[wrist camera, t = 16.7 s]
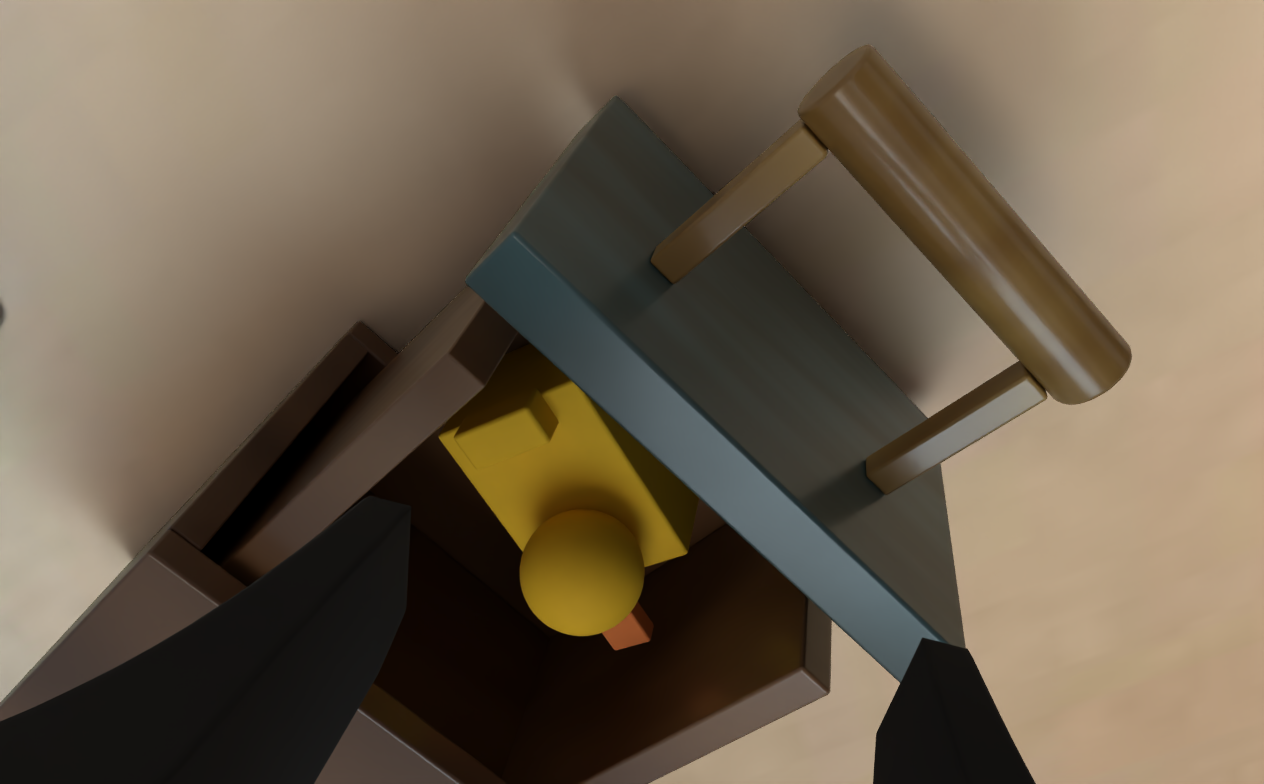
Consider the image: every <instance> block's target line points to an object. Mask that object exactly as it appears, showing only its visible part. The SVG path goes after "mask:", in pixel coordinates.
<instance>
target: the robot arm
mask: <svg viewBox="0 0 1264 784" xmlns="http://www.w3.org/2000/svg"><path fill="white" fill-rule="evenodd" d="M410 524H411V506H409V505H405V504H401V503H397V502H393V501H389V500H385V499H381V498H378V497H374V496H368V497H367V498H365V499H363V500H361V501H360V502H359V503H358V504H356V505H355V506H354V507H353V508H351V509H350V510H349V511H348V512H346V513H345V514H344V515H343V516H341V517H340V518H339V519H337V520H336V521H335V522H334V523H332V524H331V525H330V526H329V527H327V528H326V529H325V530H324V531H322V532H321V533H320V534H318V535H317V536H316V537H315V538H313V539H312V540H311V541H309V542H308V543H307V544H305V545H304V546H303V547H301V548H300V549H299V550H297V551H296V552H295V553H294V554H292V555H291V556H289V557H288V558H287V559H285V560H284V561H283V562H281V563H280V564H278V565H277V566H276V567H274V568H273V569H271V570H270V571H269V572H267V573H266V574H265V575H263V576H262V577H260V578H259V579H258V580H256V581H255V582H253V583H252V584H251V585H249V586H248V587H246V588H245V589H243V590H242V591H240V592H239V593H238V594H236V595H234V596H233V597H231V598H230V599H228V600H227V601H225V602H224V603H222V604H221V605H219V606H218V607H216V608H215V609H213V610H211V611H210V612H208V613H207V614H205V615H204V616H202V617H201V618H199V619H198V620H196V621H195V622H193V623H192V624H190V625H188V626H187V627H185V628H183V629H182V630H180V631H178V632H177V633H175V634H173V635H172V636H170V637H168V638H167V639H165V640H163V641H162V642H160V643H158V644H156V645H155V646H153V647H151V648H150V649H148V650H146V651H144V652H142V653H140V654H139V655H137V656H135V657H133V658H131V659H130V660H128V661H126V662H124V663H122V664H121V665H119V666H117V667H115V668H113V669H111V670H109V671H107V672H105V673H103V674H101V675H99V676H97V677H95V678H93V679H91V680H89V681H87V682H85V683H83V684H81V685H79V686H77V687H75V688H73V689H71V690H69V691H67V692H65V693H63V694H61V695H59V696H56V697H54V698H52V699H50V700H48V701H46V702H44V703H42V704H39V705H37V706H35V707H33V708H31V709H28V710H26V711H24V712H21V713H19V714H16V715H14V716H12V717H9V718H7V719H4V720H2V721H0V784H314V783H315V781H316V780H317V778H318V776H319V775H320V773H321V771H322V769H323V768H324V766H325V764H326V763H327V761H328V759H329V758H330V756H331V754H332V752H333V751H334V749H335V747H336V746H337V744H338V742H339V741H340V739H341V737H342V735H343V734H344V732H345V730H346V729H347V727H348V725H349V724H350V722H351V720H352V718H353V717H354V715H355V713H356V711H357V710H358V708H359V706H360V705H361V703H362V701H363V699H364V698H365V696H366V694H367V693H368V691H369V689H370V687H371V686H372V684H373V682H374V680H375V679H376V677H377V675H378V673H379V671H380V669H381V667H382V664H383V662H384V660H385V658H386V655H387V653H388V651H389V649H390V646H391V644H392V642H393V639H394V637H395V635H396V632H397V630H398V628H399V625H400V623H401V620H402V618H403V616H404V613H405V611H406V606H407V585H408V565H409V544H410ZM873 784H1036V783H1035V782H1034V780H1033V778H1032V776H1031V774H1030V772H1029V770H1028V769H1027V767H1026V765H1025V763H1024V761H1023V759H1022V757H1021V755H1020V753H1019V751H1018V750H1017V748H1016V746H1015V744H1014V742H1013V740H1012V738H1011V736H1010V734H1009V732H1008V730H1007V728H1006V726H1005V724H1004V722H1003V720H1002V718H1001V716H1000V714H999V712H998V709H997V707H996V705H995V703H994V701H993V699H992V697H991V695H990V693H989V691H988V689H987V687H986V685H985V682H984V680H983V678H982V676H981V674H980V672H979V670H978V668H977V666H976V664H975V662H974V659H973V657H972V656H971V654H970V652H969V651H968V649H966V648H962V647H958V646H954V645H950V644H946V643H942V642H939V641H935V640H931V639H927V638H923V637H922V639H921V641H920V643H919V645H918V648H917V650H916V652H915V654H914V656H913V658H912V660H911V662H910V664H909V666H908V668H907V671H906V673H905V675H904V677H903V679H902V681H901V683H900V685H899V687H898V689H897V691H896V694H895V696H894V698H893V700H892V702H891V704H890V706H889V708H888V710H887V712H886V714H885V716H884V719H883V721H882V723H881V725H880V727H879V729H878V731H877V733H876V747H875V762H874V779H873Z"/></svg>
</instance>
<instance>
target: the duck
mask: <svg viewBox="0 0 1264 784" xmlns="http://www.w3.org/2000/svg"><path fill="white" fill-rule="evenodd" d="M439 439H440V441H441V442H442V443H443V445H444V446H445V447H446V449H447V450H448V451H449V453H450V454H451V455H452V457H453V458H454V459H455V461H456V462H457V464H458V465H459V466H460V468H461V469H462V470H463V472H464V473H465V474H466V476H467V477H468V478H469V480H470V481H471V483H472V484H473V485H474V487H475V488H476V489H477V491H478V492H479V493H480V495H481V496H482V497H483V499H484V500H485V502H486V503H487V504H488V506H489V507H490V508H491V510H492V511H493V512H494V514H495V515H496V516H497V518H498V519H499V521H500V522H501V523H502V525H503V526H504V527H505V529H506V530H507V531H508V533H509V534H510V535H511V537H512V538H513V539H514V541H515V542H516V544H517V545H518V546H519V548H520V549H521V550H522V552H523V554H522V557H521V563H520V584H521V589H522V592H523V595H524V598H525V600H526V602H527V604H528V606H529V607H530V609H531V610H532V612H533V613H534V614H535V615H536V616H537V617H538V618H539V619H540V620H541V621H542V622H543V623H544V624H546V625H547V626H549V627H550V628H552V629H554V630H556V631H559V632H561V633H564V634H568V635H573V636H590V635H595V634H599V633H602V634H603V635H604V637H605V638H606V639H607V641H608V642H609V643H610V645H611V646H612V648H613V649H614V650H619V649H623V648H627V647H630V646H634V645H638V644H641V643H645V642H649V641H650V640H651V636H652V631H653V627H654V625H653V623H652V621H651V620H650V618H649V617H648V615H647V614H646V613H645V611H644V610H643V608H642V607H641V605H640V604H639V602H638V599H639V597H640V595H641V592H642V588H643V584H644V576H645V569H644V567H647V566H651V565H654V564H657V563H660V562H663V561H667V560H670V559H673V558H676V557H680V556H683V555H685V554H687V553H688V550H689V545H690V540H691V535H692V530H693V526H694V521H695V516H696V511H697V506H698V502H699V497H697V496H696V495H695V494H694V493H693V492H692V491H691V490H690V489H689V488H688V487H687V486H685V485H684V484H683V483H682V482H681V481H680V480H679V479H678V478H677V477H676V476H675V475H674V474H672V473H671V472H670V471H669V470H668V469H667V468H666V467H665V466H664V465H663V464H662V463H660V462H659V461H658V460H657V459H656V458H655V457H654V456H653V455H652V454H651V453H650V452H648V451H647V450H646V449H645V448H644V447H643V446H642V445H641V444H640V443H639V442H638V441H636V440H635V439H634V438H633V437H632V436H631V435H630V434H629V433H628V432H627V431H626V430H625V429H623V428H622V427H621V426H620V425H619V424H618V423H617V422H616V421H615V420H614V419H613V418H611V417H610V416H609V415H608V414H607V413H606V412H605V411H604V410H603V409H602V408H601V407H599V406H598V405H597V404H596V403H595V402H594V401H593V400H592V399H591V398H590V397H589V396H587V395H586V394H585V393H584V392H583V391H582V390H581V389H580V388H579V387H578V386H577V385H576V384H574V383H573V382H572V381H571V380H570V379H569V378H568V377H567V376H566V375H565V374H564V373H562V372H561V371H560V370H559V369H558V368H557V367H556V366H555V365H554V364H553V363H552V362H550V361H549V360H548V359H547V358H546V357H545V356H544V355H543V354H542V353H541V352H540V351H539V350H537V349H536V348H535V347H534V346H533V345H532V344H531V343H530V344H528V345H526V346H523V347H521V348H519V349H517V350H514V351H512V352H510V353H507V354H505V355H504V356H503V358H502V360H501V361H500V363H499V365H498V366H497V368H496V370H495V371H494V373H493V375H492V376H491V378H490V380H489V381H488V383H487V385H486V386H485V388H483V389H482V390H481V391H480V392H479V393H478V394H477V395H476V396H474V397H473V398H472V399H471V400H470V401H469V402H468V403H467V404H465V405H464V406H463V407H462V408H461V409H460V410H459V411H458V412H456V413H455V414H454V415H453V416H452V417H451V418H450V419H449V420H448V421H447V423H446V424H445V426H444V428H443V429H442V431H441V432H440V434H439Z"/></svg>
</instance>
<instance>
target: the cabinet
mask: <svg viewBox="0 0 1264 784" xmlns="http://www.w3.org/2000/svg"><path fill="white" fill-rule="evenodd" d="M397 355H398V354H397V353H396V352H395V351H394V350H393V349H392V348H390V347H389V346H388V345H387V344H386V343H385V342H384V341H382V340H381V339H380V338H379V337H378V336H377V335H376V334H374V333H373V332H372V331H371V330H370V329H369V328H368V327H366V326H365V325H364V324H363V323H362V322H360V321H359V322H357V323H356V324H355V325H354V326H353V327H352V328H351V329H350V330H349V331H348V332H347V333H346V334H345V335H344V336H343V337H342V338H341V339H340V341H339V342H338V343H337V344H336V345H335V346H334V347H333V348H332V349H331V350H330V351H329V352H328V353H327V354H326V355H325V356H324V357H323V359H322V360H321V361H320V362H319V363H318V364H317V365H316V366H315V367H314V368H313V369H312V370H311V371H310V372H309V373H308V374H307V375H306V377H305V378H304V379H303V380H302V381H301V382H300V383H299V384H298V385H297V386H296V387H295V388H294V389H293V390H292V391H291V392H290V393H289V395H288V396H287V397H286V398H285V399H284V400H283V401H282V402H281V403H280V404H279V405H278V406H277V407H276V408H275V409H274V410H273V411H272V412H271V414H270V415H269V416H268V417H267V418H266V419H265V420H264V421H263V422H262V423H261V424H260V425H259V426H258V427H257V428H256V429H255V430H254V432H253V433H252V434H251V435H250V436H249V437H248V438H247V439H246V440H245V441H244V442H243V443H242V444H241V445H240V446H239V447H238V448H237V450H236V451H235V452H234V453H233V454H232V455H231V456H230V457H229V458H228V459H227V460H226V461H225V462H224V463H223V464H222V465H221V466H220V468H219V469H218V470H217V471H216V472H215V473H214V474H213V475H212V476H211V477H210V478H209V479H208V480H207V481H206V482H205V483H204V484H203V486H202V487H201V488H200V489H199V490H198V491H197V492H196V493H195V494H194V495H193V496H192V497H191V498H190V499H189V500H188V501H187V502H186V504H185V505H184V506H183V507H182V508H181V509H180V510H179V511H178V512H177V513H176V514H175V515H174V516H173V517H172V518H171V519H170V520H169V522H168V523H167V524H166V525H165V526H164V527H163V528H162V529H161V530H160V531H159V532H158V533H157V534H156V535H155V536H154V537H153V538H152V540H151V541H150V542H149V543H148V544H147V545H146V546H145V547H144V548H143V549H142V550H141V551H140V552H139V553H138V554H137V555H136V556H135V558H134V559H133V560H132V561H131V562H130V563H129V564H128V565H127V566H126V567H125V568H124V569H123V570H122V571H121V573H120V574H119V575H118V576H117V577H116V578H115V579H114V580H113V581H112V582H111V583H110V584H109V586H108V587H107V588H106V589H105V590H104V591H103V592H102V593H101V594H100V595H99V596H98V597H97V599H96V600H95V601H94V602H93V603H92V604H91V605H90V606H89V607H88V608H87V609H86V610H85V612H84V613H83V614H82V615H81V616H80V617H79V618H78V619H77V620H76V621H75V622H74V623H73V625H72V626H71V627H70V628H69V629H68V630H67V631H66V632H65V633H64V634H63V635H62V636H61V637H60V639H59V640H58V641H57V642H56V643H55V644H54V645H53V646H52V647H51V648H50V649H49V650H48V652H47V653H46V654H45V655H44V656H43V657H42V658H41V659H40V660H39V661H38V662H37V663H36V665H35V666H34V667H33V668H32V669H31V670H30V671H29V672H28V673H27V674H26V675H25V676H24V678H23V679H22V680H21V681H20V682H19V683H18V684H17V685H16V686H15V687H14V688H13V689H12V691H11V692H10V693H9V694H8V695H7V696H6V697H5V698H4V699H3V700H2V701H1V702H0V721H2V720H4V719H7V718H9V717H12V716H14V715H16V714H19V713H21V712H24V711H26V710H28V709H31V708H33V707H35V706H37V705H39V704H42V703H44V702H46V701H48V700H50V699H52V698H54V697H56V696H59V695H61V694H63V693H65V692H67V691H69V690H71V689H73V688H75V687H77V686H79V685H81V684H83V683H85V682H87V681H89V680H91V679H93V678H95V677H97V676H99V675H101V674H103V673H105V672H107V671H109V670H111V669H113V668H115V667H117V666H119V665H121V664H122V663H124V662H126V661H128V660H130V659H131V658H133V657H135V656H137V655H139V654H140V653H142V652H144V651H146V650H148V649H150V648H151V647H153V646H155V645H156V644H158V643H160V642H162V641H163V640H165V639H167V638H168V637H170V636H172V635H173V634H175V633H177V632H178V631H180V630H182V629H183V628H185V627H187V626H188V625H190V624H192V623H193V622H195V621H196V620H198V619H199V618H201V617H202V616H204V615H205V614H207V613H208V612H210V611H211V610H213V609H215V608H216V607H218V606H219V605H221V604H222V603H224V602H225V601H227V600H228V599H230V598H231V597H233V596H234V595H236V594H238V593H239V592H240V591H242V590H243V589H245V588H246V587H247V586H245V585H244V584H243V583H241V582H240V581H239V580H237V579H236V578H235V577H234V576H232V575H231V574H230V573H228V572H227V571H226V570H224V569H223V568H222V567H220V566H219V565H218V564H216V563H215V562H214V561H213V559H214V558H215V557H216V556H217V554H218V553H219V552H220V551H221V550H222V548H223V547H224V546H225V545H226V544H227V542H228V541H229V540H230V539H231V537H232V536H233V535H234V534H235V533H236V531H237V530H238V529H239V528H240V526H241V525H242V524H243V523H244V522H245V520H246V519H247V518H248V517H249V515H250V514H251V513H252V512H253V511H254V509H255V508H256V507H257V506H258V504H259V503H260V502H261V501H262V500H263V498H264V497H265V496H266V495H267V493H268V492H269V491H270V490H271V489H272V487H273V486H274V485H275V484H276V483H277V481H278V480H279V479H280V478H281V476H282V475H283V474H284V473H285V472H286V470H287V469H288V468H289V467H290V465H291V464H292V463H293V462H294V461H295V459H296V458H297V457H298V456H299V455H300V453H301V452H302V451H303V450H304V448H305V447H306V446H307V445H308V444H309V442H310V441H311V440H312V439H313V438H314V437H315V436H316V435H317V434H318V433H319V432H320V431H321V430H322V429H323V428H324V427H325V426H326V425H327V424H328V423H329V422H330V421H331V420H332V419H333V418H334V417H335V416H336V415H337V414H338V413H339V412H340V411H341V410H342V409H343V408H344V407H345V406H346V405H347V404H348V403H349V402H350V401H351V400H352V399H353V398H354V397H355V396H356V395H357V394H358V393H359V392H360V391H361V390H362V389H363V388H364V387H365V386H366V385H368V384H369V383H370V382H371V381H372V380H373V379H374V378H375V377H376V376H377V375H378V374H379V373H380V372H381V371H382V370H383V369H384V368H385V367H386V366H387V365H388V364H389V363H390V362H391V361H392V360H393V359H394V358H395V357H396V356H397ZM314 784H508V783H507V782H505V781H504V780H503V779H501V778H500V777H499V776H497V775H496V774H495V773H493V772H492V771H491V770H489V769H488V768H487V767H485V766H484V765H483V764H482V763H480V762H479V761H478V760H476V759H475V758H474V757H472V756H471V755H470V754H468V753H467V752H466V751H464V750H463V749H462V748H460V747H459V746H458V745H456V744H455V743H454V742H452V741H451V740H450V739H448V738H447V737H446V736H444V735H443V734H442V733H440V732H439V731H438V730H436V729H435V728H434V727H432V726H431V725H430V724H428V723H427V722H426V721H424V720H423V719H422V718H421V717H419V716H418V715H417V714H415V713H414V712H413V711H411V710H410V709H409V708H407V707H406V706H405V705H403V704H402V703H401V702H399V701H398V700H397V699H395V698H394V697H393V696H391V695H390V694H389V693H387V692H386V691H385V690H383V689H382V688H381V687H379V686H378V685H377V684H375V683H374V682H373V684H372V686H371V687H370V689H369V691H368V693H367V694H366V696H365V698H364V699H363V701H362V703H361V705H360V706H359V708H358V710H357V711H356V713H355V715H354V717H353V718H352V720H351V722H350V724H349V725H348V727H347V729H346V730H345V732H344V734H343V735H342V737H341V739H340V741H339V742H338V744H337V746H336V747H335V749H334V751H333V752H332V754H331V756H330V758H329V759H328V761H327V763H326V764H325V766H324V768H323V769H322V771H321V773H320V775H319V776H318V778H317V780H316V781H315V783H314Z"/></svg>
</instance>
